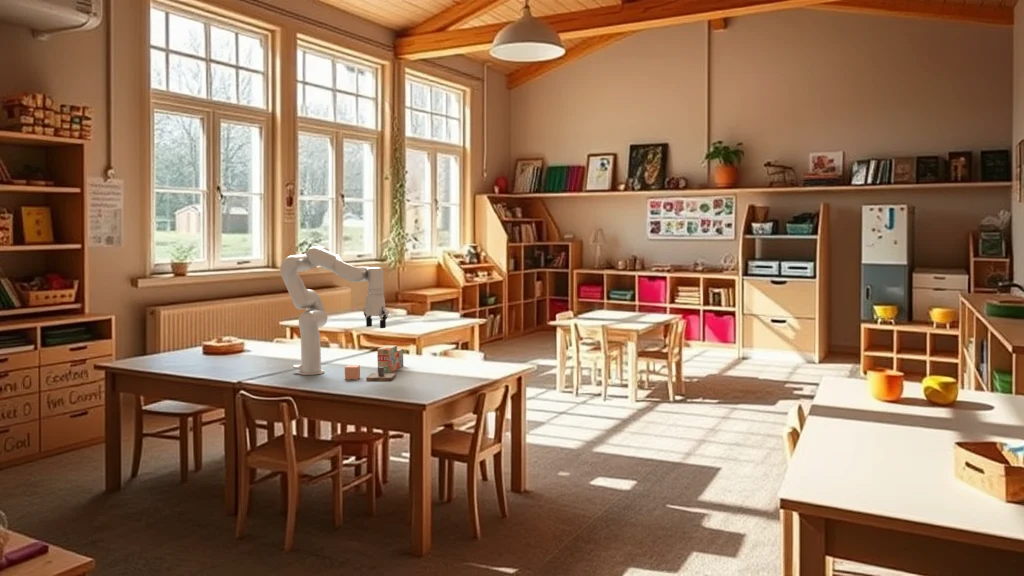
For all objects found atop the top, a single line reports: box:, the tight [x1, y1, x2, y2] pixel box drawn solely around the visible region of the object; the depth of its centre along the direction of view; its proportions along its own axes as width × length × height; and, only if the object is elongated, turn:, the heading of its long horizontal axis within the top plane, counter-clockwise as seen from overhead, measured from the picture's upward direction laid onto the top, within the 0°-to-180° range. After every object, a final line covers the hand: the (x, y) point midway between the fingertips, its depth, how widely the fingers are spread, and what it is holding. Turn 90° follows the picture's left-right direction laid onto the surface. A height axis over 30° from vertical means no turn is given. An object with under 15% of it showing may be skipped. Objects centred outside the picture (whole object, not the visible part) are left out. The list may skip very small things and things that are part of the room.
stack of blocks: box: [376, 344, 404, 373], centre depth 423 cm, size 21×6×12 cm, turn 168°
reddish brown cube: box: [344, 364, 361, 380], centre depth 397 cm, size 6×6×6 cm
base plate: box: [365, 366, 397, 382], centre depth 397 cm, size 12×12×6 cm
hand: (375, 327), depth 402 cm, fingers open, 9 cm apart
